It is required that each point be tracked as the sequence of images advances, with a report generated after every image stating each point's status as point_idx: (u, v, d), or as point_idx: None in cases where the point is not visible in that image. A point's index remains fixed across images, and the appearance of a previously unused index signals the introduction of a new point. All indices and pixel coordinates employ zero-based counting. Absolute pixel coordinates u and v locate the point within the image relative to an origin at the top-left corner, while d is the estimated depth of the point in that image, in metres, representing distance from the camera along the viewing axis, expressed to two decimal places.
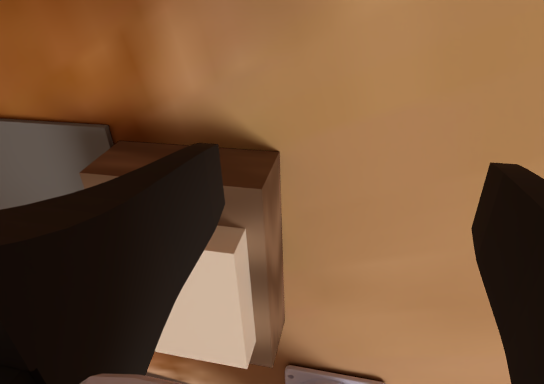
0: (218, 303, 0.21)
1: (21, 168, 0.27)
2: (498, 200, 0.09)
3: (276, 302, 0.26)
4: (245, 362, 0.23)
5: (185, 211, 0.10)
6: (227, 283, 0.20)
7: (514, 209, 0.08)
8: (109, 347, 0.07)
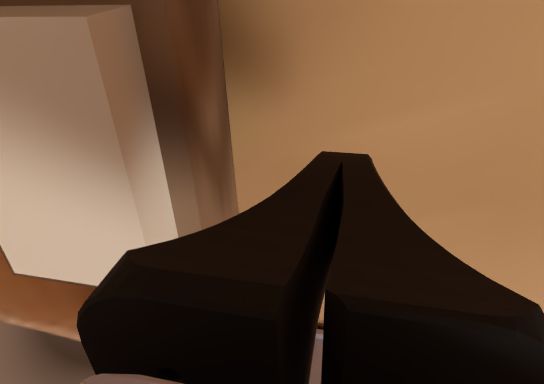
0: (85, 155, 0.11)
1: None
2: (340, 187, 0.10)
3: (217, 196, 0.16)
4: None
5: (329, 227, 0.09)
6: (89, 100, 0.10)
7: (341, 194, 0.09)
8: None
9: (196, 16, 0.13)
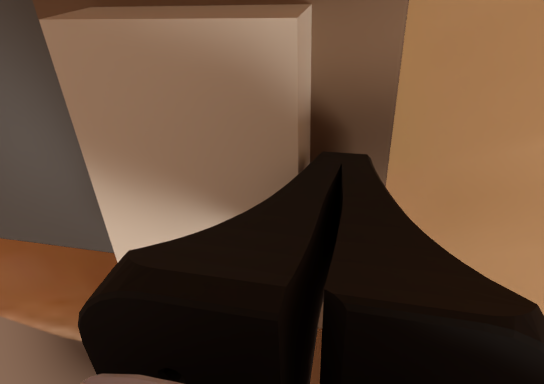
0: (251, 174, 0.10)
1: None
2: (340, 187, 0.10)
3: None
4: None
5: (330, 227, 0.09)
6: (273, 114, 0.09)
7: None
8: None
9: None
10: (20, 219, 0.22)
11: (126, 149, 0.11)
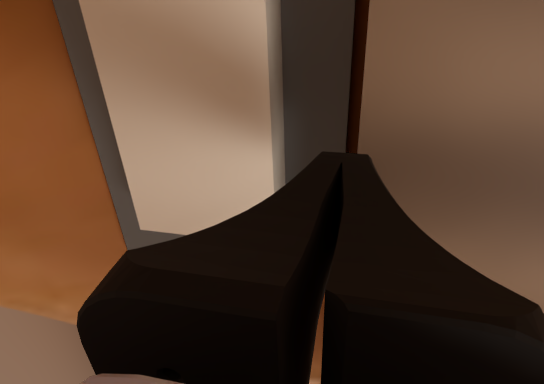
0: None
1: None
2: (340, 187, 0.10)
3: None
4: None
5: (329, 226, 0.09)
6: None
7: (341, 194, 0.09)
8: None
9: None
10: (175, 237, 0.20)
11: None
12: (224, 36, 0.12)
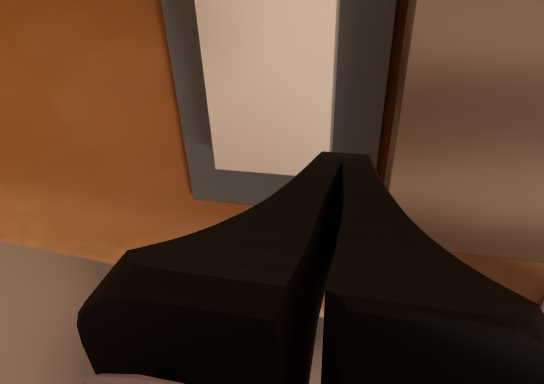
0: None
1: None
2: (340, 187, 0.10)
3: None
4: None
5: (329, 226, 0.09)
6: None
7: (341, 194, 0.09)
8: None
9: None
10: (235, 181, 0.24)
11: None
12: (303, 6, 0.16)
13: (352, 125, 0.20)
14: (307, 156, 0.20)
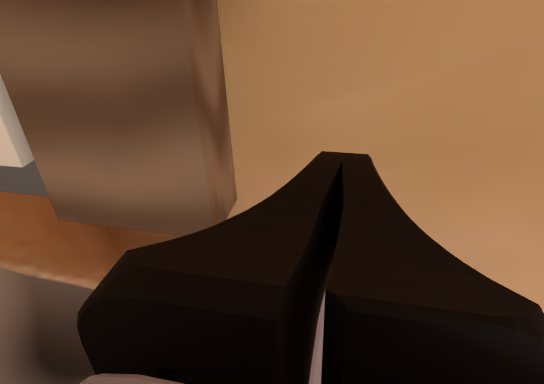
0: None
1: None
2: (340, 187, 0.10)
3: (217, 154, 0.21)
4: None
5: (329, 227, 0.09)
6: None
7: (341, 194, 0.09)
8: None
9: (202, 19, 0.18)
10: None
11: None
12: None
13: None
14: (0, 149, 0.24)
